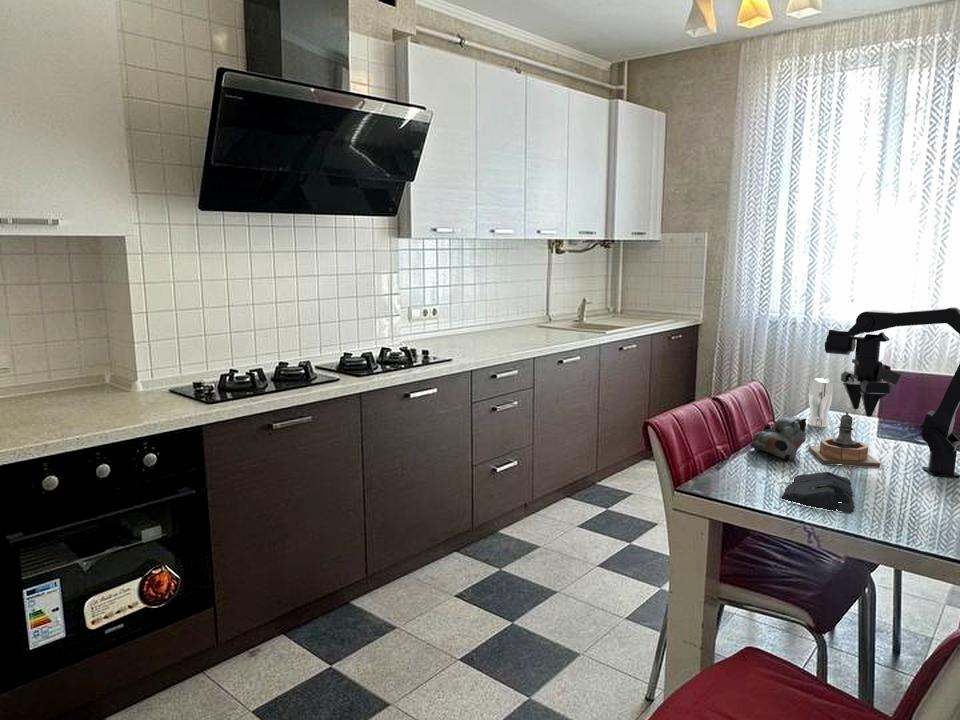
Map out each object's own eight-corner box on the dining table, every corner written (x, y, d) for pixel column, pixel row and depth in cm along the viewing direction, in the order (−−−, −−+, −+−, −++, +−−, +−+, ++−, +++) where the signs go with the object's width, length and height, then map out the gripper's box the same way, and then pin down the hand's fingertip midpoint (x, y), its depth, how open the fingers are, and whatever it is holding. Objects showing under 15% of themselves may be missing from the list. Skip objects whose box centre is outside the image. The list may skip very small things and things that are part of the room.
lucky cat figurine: (748, 446, 204) (772, 405, 204) (787, 468, 200) (812, 425, 199) (748, 444, 191) (774, 400, 190) (791, 468, 186) (817, 422, 185)
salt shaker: (846, 458, 190) (850, 415, 188) (826, 452, 195) (830, 410, 193) (859, 455, 193) (864, 413, 191) (840, 449, 198) (844, 408, 196)
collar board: (879, 467, 186) (881, 452, 185) (823, 464, 188) (825, 449, 188) (860, 452, 200) (862, 438, 199) (808, 449, 202) (809, 435, 201)
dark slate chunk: (860, 489, 170) (861, 470, 169) (852, 518, 152) (854, 497, 151) (792, 478, 178) (793, 460, 177) (777, 504, 160) (778, 484, 159)
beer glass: (812, 421, 235) (816, 377, 233) (833, 425, 230) (837, 380, 228) (802, 424, 231) (806, 380, 229) (823, 429, 226) (828, 383, 223)
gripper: (914, 362, 180) (909, 421, 183) (884, 352, 199) (879, 406, 201) (868, 361, 182) (863, 420, 184) (842, 351, 200) (838, 405, 203)
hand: (862, 412), depth 193 cm, fingers open, 9 cm apart
